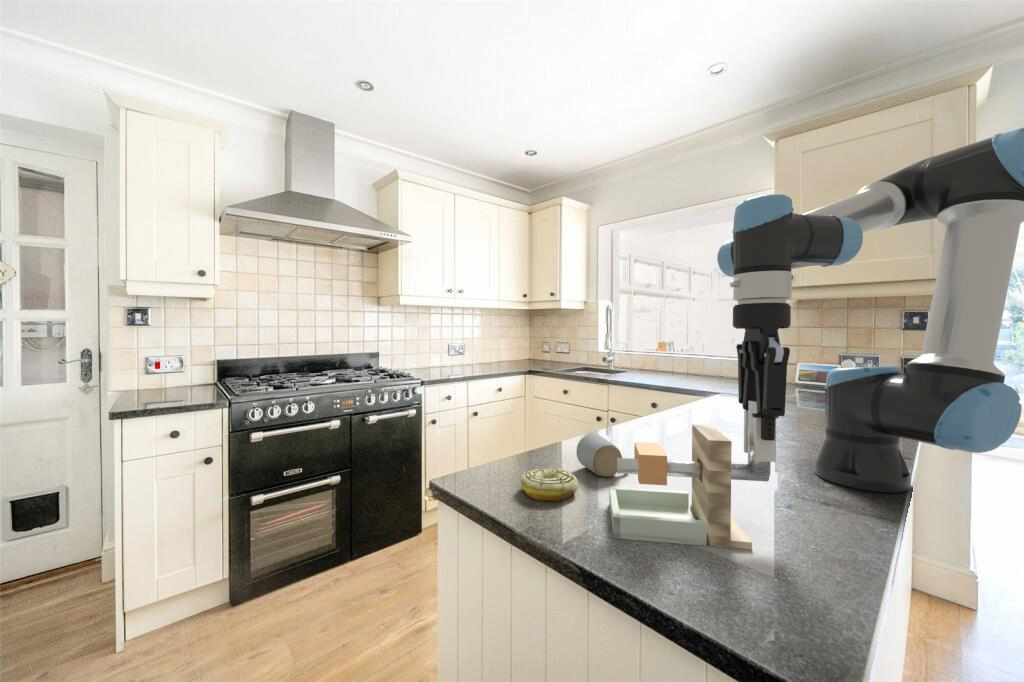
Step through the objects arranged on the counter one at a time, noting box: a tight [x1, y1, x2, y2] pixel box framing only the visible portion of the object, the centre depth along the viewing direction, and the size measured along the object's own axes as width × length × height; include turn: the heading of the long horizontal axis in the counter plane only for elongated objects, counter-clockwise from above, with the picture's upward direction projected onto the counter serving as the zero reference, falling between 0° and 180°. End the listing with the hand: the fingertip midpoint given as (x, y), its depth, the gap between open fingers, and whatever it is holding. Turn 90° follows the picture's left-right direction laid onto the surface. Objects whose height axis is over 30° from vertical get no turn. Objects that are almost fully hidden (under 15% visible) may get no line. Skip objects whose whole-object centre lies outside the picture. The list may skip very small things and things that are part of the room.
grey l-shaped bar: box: [617, 400, 772, 482], centre depth 65 cm, size 22×3×12 cm, turn 80°
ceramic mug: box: [575, 433, 623, 478], centre depth 91 cm, size 11×8×8 cm
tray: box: [608, 486, 708, 547], centre depth 67 cm, size 13×12×3 cm
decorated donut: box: [520, 467, 579, 502], centre depth 80 cm, size 10×11×4 cm
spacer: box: [633, 441, 668, 486], centre depth 67 cm, size 4×7×4 cm, turn 170°
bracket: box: [689, 424, 753, 550], centre depth 65 cm, size 6×12×15 cm, turn 170°
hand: (759, 456), depth 64 cm, fingers open, 3 cm apart
